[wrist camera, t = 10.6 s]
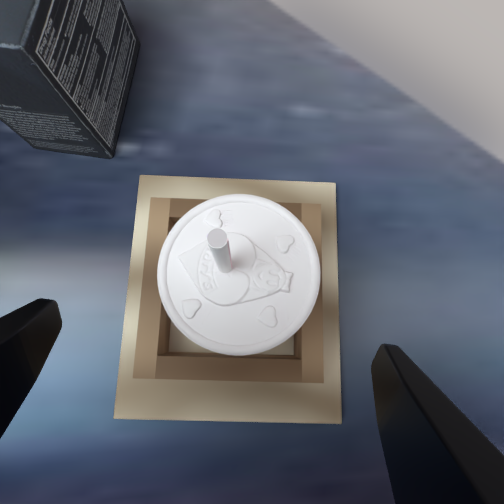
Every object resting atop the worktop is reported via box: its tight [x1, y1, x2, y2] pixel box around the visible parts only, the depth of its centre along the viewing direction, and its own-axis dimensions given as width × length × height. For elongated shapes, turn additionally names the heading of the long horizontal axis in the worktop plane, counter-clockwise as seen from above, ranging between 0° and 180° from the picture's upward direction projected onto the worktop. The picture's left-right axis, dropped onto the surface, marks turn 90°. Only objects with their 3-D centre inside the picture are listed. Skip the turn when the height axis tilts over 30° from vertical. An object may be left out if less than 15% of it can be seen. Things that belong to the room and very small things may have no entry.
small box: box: [0, 0, 140, 159], centre depth 21 cm, size 11×6×10 cm, turn 173°
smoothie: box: [157, 194, 320, 356], centre depth 15 cm, size 6×6×14 cm
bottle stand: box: [113, 175, 342, 424], centre depth 21 cm, size 16×14×4 cm
